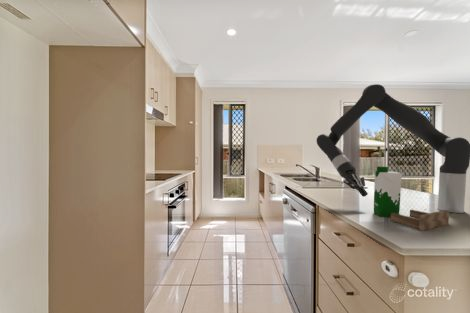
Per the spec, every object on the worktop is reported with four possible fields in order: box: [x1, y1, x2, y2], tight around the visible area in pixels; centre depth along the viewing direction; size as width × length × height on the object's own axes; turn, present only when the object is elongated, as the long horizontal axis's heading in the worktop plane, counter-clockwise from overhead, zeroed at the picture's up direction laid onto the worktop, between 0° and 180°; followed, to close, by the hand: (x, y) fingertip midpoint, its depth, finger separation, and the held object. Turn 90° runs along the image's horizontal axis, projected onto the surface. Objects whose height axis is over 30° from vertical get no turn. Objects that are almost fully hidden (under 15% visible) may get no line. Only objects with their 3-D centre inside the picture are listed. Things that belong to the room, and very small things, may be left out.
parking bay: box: [390, 208, 450, 232], centre depth 94 cm, size 18×12×5 cm, turn 118°
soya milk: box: [373, 166, 403, 218], centre depth 104 cm, size 9×9×20 cm
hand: (365, 195), depth 113 cm, fingers closed
